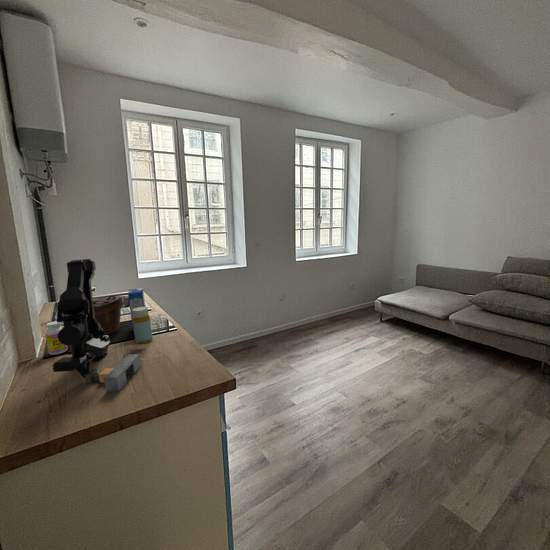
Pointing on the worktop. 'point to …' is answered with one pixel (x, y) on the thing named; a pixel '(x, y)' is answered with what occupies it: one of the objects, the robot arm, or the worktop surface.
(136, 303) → the milk carton
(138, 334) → the bottle
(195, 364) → the worktop surface
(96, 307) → the brown plant pot
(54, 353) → the supplement bottle
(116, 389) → the housing
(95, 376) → the plug
